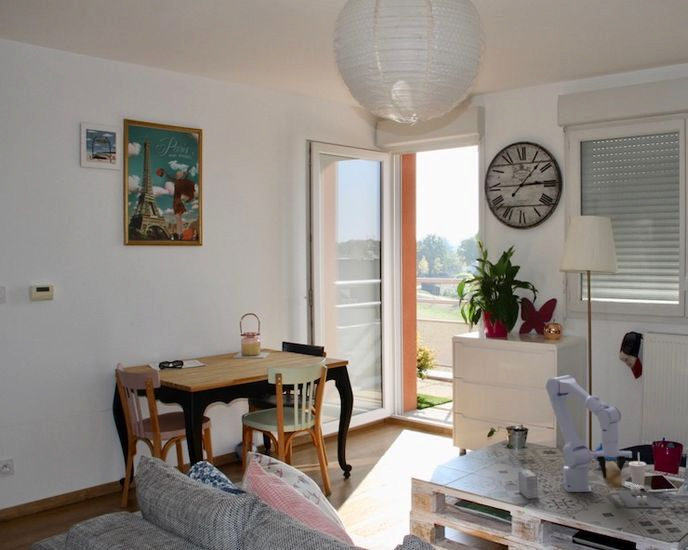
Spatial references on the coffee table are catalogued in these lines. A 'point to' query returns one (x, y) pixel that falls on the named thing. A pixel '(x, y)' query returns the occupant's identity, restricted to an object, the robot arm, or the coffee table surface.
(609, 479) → the oak block
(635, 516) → the coffee table surface
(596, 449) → the grapes
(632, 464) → the smoothie
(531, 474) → the medicine box
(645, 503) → the peg base
